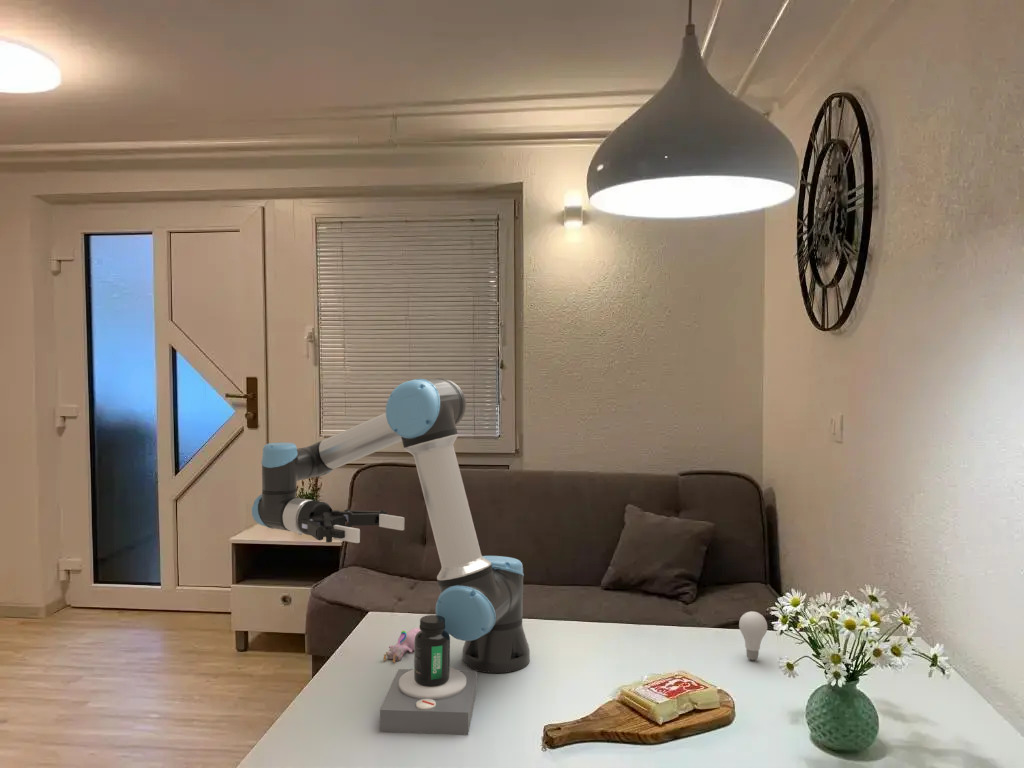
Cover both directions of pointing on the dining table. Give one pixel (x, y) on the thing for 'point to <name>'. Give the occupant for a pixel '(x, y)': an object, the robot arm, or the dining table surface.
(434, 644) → the supplement bottle
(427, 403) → the robot arm
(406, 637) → the pink unicorn toy
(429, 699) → the kitchen scale
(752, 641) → the lightbulb
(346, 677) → the dining table surface
